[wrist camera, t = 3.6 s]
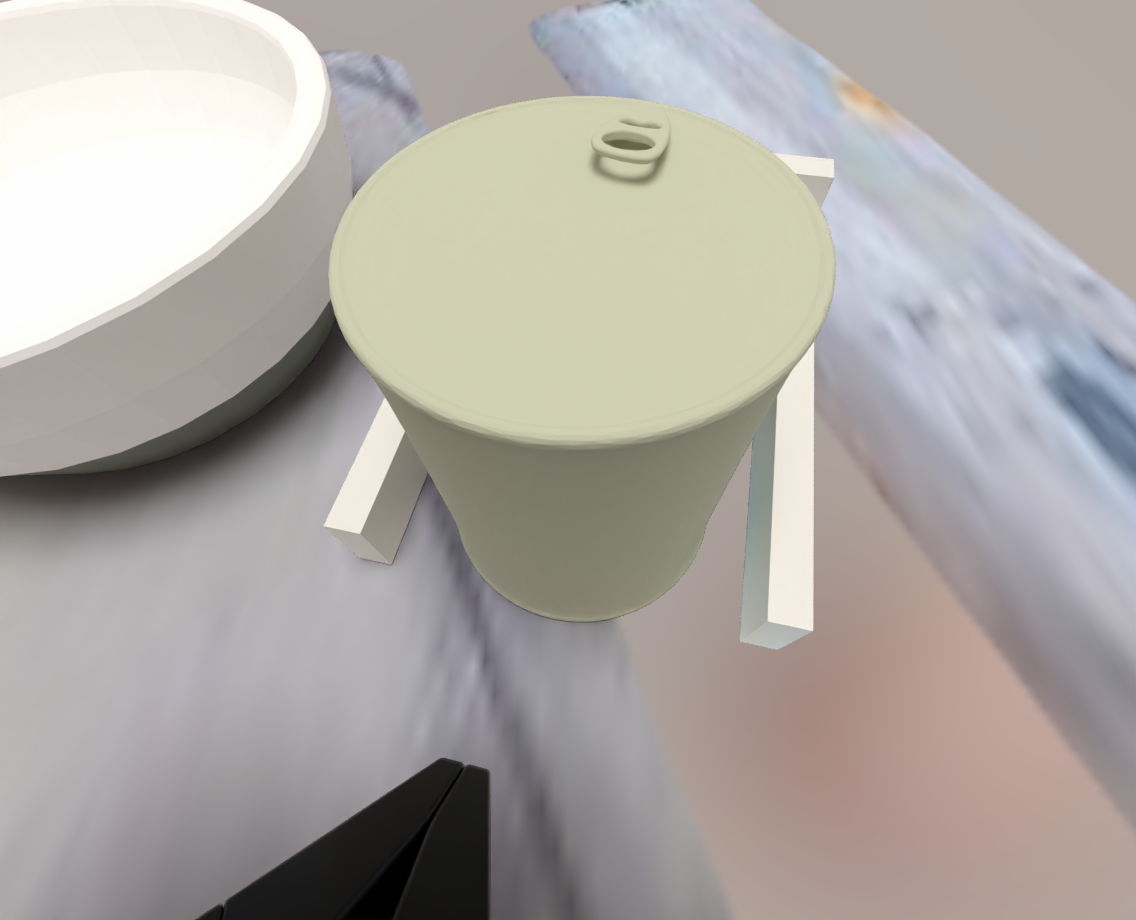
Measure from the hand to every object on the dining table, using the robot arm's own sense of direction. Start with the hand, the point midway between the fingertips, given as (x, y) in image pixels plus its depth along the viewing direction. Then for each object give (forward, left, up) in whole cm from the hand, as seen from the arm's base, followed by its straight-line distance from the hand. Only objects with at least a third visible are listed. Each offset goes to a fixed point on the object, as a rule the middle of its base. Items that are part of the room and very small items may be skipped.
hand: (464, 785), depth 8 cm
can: (+7, -6, -8) cm, 12 cm away
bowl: (+25, +6, -8) cm, 27 cm away
